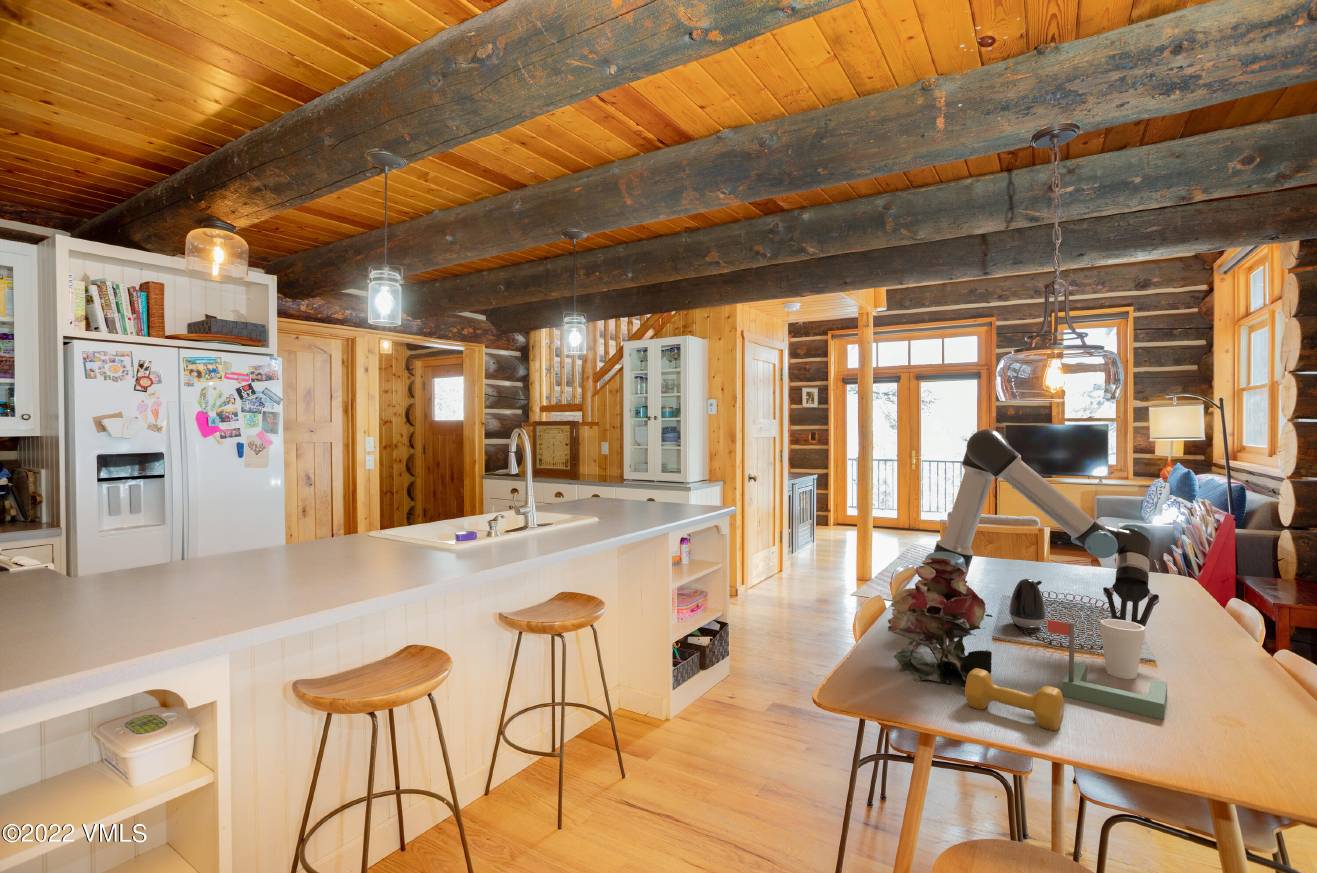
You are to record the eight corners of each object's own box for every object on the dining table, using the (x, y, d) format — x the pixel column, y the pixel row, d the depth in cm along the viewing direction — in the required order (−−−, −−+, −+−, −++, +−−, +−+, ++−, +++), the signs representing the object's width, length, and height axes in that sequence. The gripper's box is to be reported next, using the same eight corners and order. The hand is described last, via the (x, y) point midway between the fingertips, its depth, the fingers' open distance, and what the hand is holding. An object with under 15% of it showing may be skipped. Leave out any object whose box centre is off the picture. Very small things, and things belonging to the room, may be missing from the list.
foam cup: (1129, 668, 168) (1130, 619, 168) (1153, 682, 159) (1154, 631, 159) (1091, 666, 169) (1092, 618, 169) (1113, 680, 160) (1113, 629, 160)
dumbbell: (961, 709, 145) (961, 673, 145) (974, 696, 151) (975, 663, 151) (1056, 737, 132) (1057, 699, 131) (1067, 723, 138) (1067, 686, 138)
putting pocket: (1056, 672, 166) (1057, 606, 165) (1167, 696, 151) (1168, 623, 150) (1045, 691, 154) (1046, 620, 153) (1164, 719, 139) (1165, 641, 139)
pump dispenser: (1054, 629, 200) (1054, 581, 199) (1026, 632, 197) (1026, 583, 197) (1028, 619, 209) (1028, 574, 209) (1001, 622, 207) (1002, 576, 207)
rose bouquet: (988, 657, 176) (989, 550, 176) (996, 699, 150) (997, 573, 149) (891, 644, 187) (891, 543, 186) (882, 681, 160) (882, 563, 160)
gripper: (1161, 583, 180) (1157, 658, 168) (1105, 576, 188) (1098, 647, 176) (1160, 568, 176) (1156, 644, 164) (1103, 561, 184) (1096, 633, 172)
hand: (1126, 645), depth 170 cm, fingers closed
